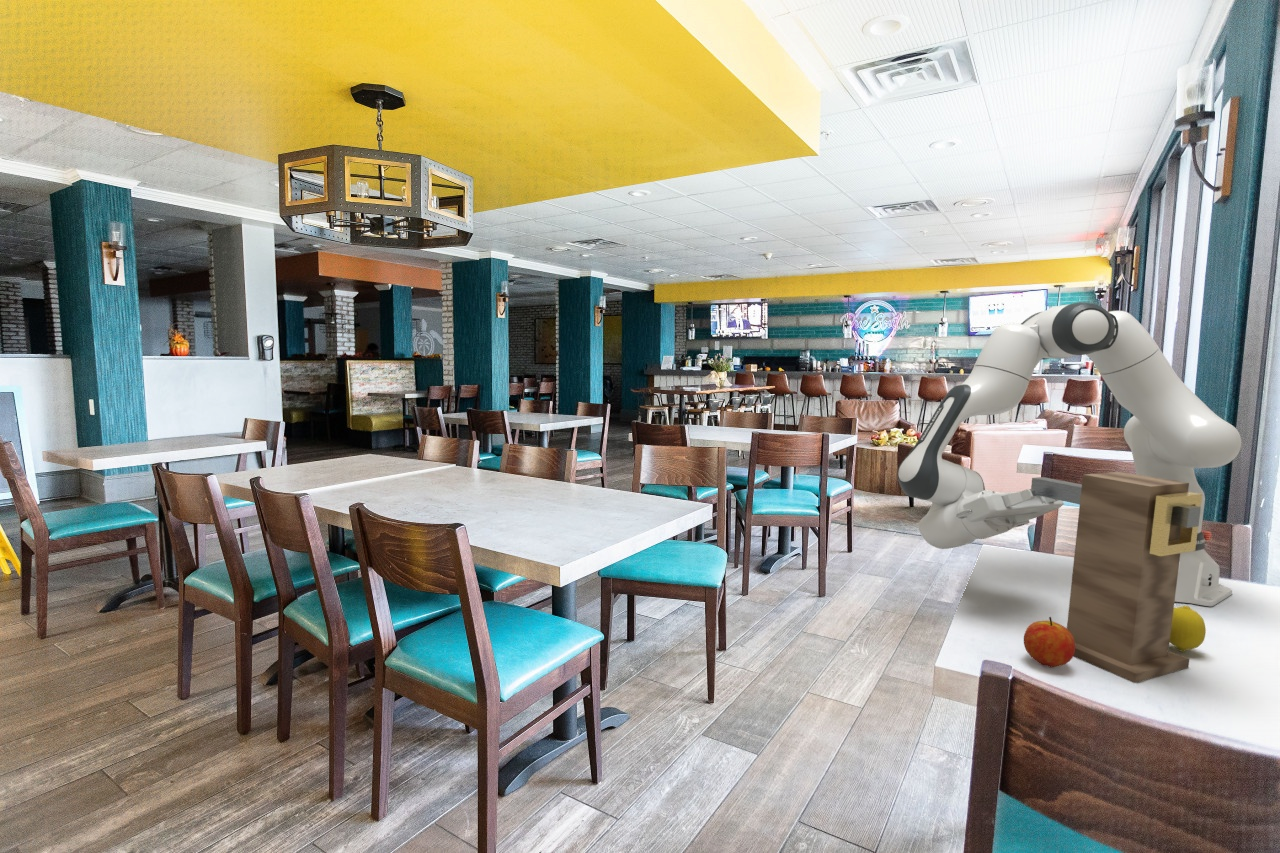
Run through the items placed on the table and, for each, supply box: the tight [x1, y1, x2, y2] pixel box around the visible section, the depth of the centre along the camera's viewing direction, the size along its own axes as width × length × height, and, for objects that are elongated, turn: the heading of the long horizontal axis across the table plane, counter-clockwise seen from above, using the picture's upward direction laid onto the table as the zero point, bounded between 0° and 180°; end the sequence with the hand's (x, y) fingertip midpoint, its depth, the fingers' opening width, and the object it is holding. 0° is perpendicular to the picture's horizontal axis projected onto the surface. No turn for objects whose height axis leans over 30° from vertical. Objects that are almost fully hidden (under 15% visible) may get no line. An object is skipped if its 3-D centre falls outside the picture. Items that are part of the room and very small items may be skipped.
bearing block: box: [1066, 471, 1190, 684], centre depth 104 cm, size 14×14×30 cm
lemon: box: [1169, 605, 1207, 652], centre depth 108 cm, size 6×6×8 cm
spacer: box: [1150, 492, 1202, 556], centre depth 97 cm, size 9×2×9 cm, turn 113°
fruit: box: [1023, 616, 1075, 668], centre depth 102 cm, size 7×7×8 cm
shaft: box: [1030, 476, 1201, 528], centre depth 107 cm, size 3×24×3 cm, turn 23°
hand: (1050, 491), depth 115 cm, fingers open, 8 cm apart
